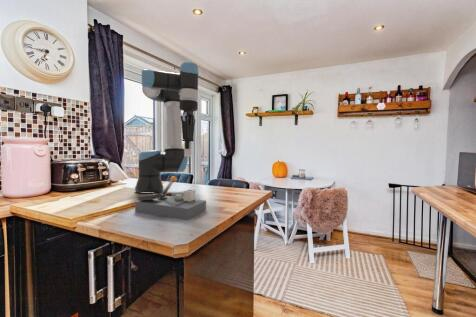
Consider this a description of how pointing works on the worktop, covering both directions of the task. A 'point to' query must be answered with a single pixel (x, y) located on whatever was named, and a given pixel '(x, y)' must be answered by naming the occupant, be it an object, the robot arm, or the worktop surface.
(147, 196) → the rocker
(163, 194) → the lever
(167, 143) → the robot arm
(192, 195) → the slider
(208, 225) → the worktop surface
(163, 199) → the grey rectangular base
